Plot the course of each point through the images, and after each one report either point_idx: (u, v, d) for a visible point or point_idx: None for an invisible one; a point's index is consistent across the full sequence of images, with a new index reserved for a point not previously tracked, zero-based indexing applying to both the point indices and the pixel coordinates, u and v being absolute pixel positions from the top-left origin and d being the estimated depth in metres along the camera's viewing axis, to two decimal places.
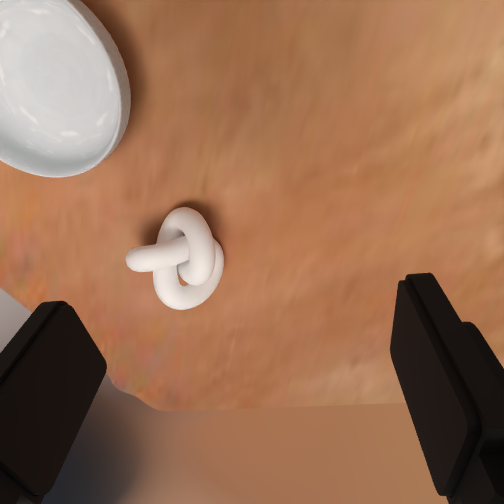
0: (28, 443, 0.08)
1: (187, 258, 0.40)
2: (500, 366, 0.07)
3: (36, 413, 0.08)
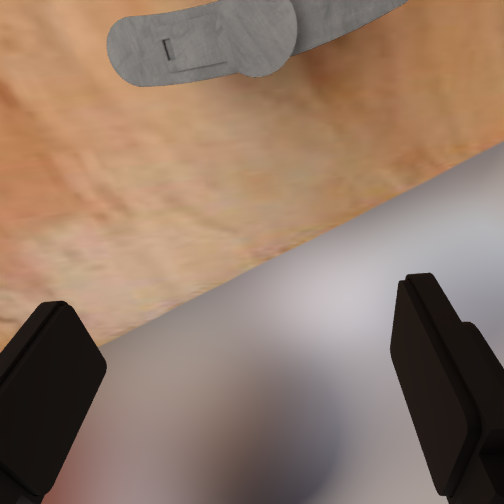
0: (28, 443, 0.08)
1: None
2: (500, 366, 0.07)
3: (36, 413, 0.08)
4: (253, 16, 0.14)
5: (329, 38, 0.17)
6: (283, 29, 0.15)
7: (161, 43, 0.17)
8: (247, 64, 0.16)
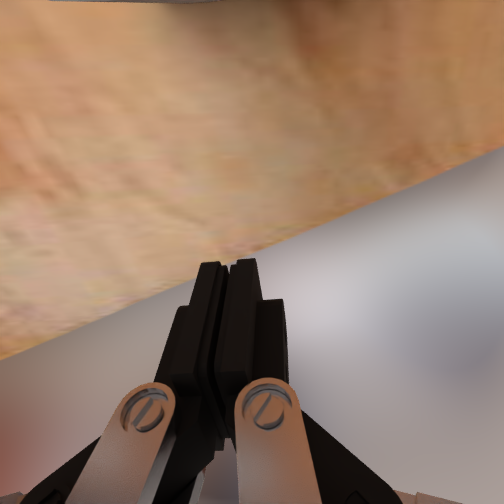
0: None
1: None
2: (281, 331, 0.08)
3: None
4: None
5: None
6: None
7: None
8: None
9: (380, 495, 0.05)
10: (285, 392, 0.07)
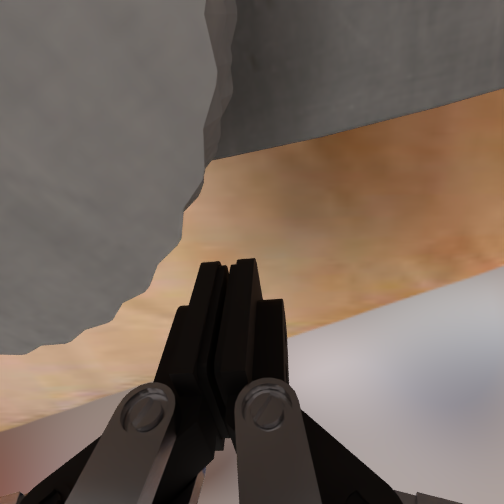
0: None
1: None
2: (281, 331, 0.08)
3: None
4: None
5: (428, 96, 0.03)
6: (4, 7, 0.01)
7: None
8: None
9: (380, 495, 0.05)
10: (285, 392, 0.07)
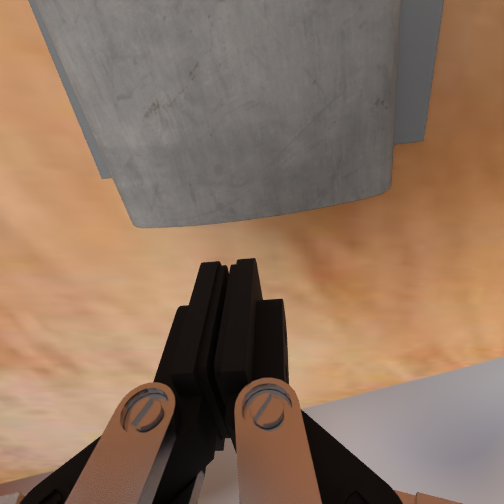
0: None
1: None
2: (280, 331, 0.08)
3: None
4: None
5: None
6: None
7: None
8: None
9: (380, 495, 0.05)
10: (285, 392, 0.07)
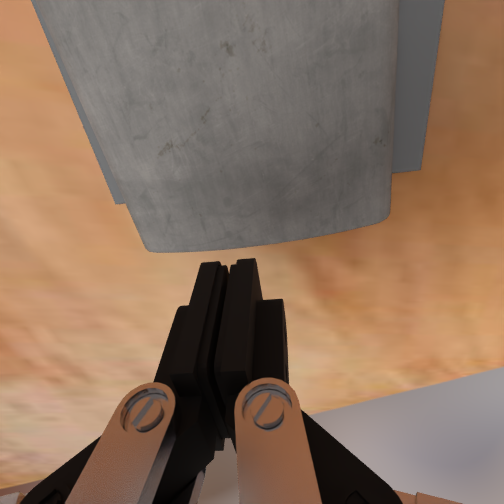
0: None
1: None
2: (281, 331, 0.08)
3: None
4: None
5: None
6: None
7: None
8: None
9: (380, 495, 0.05)
10: (285, 392, 0.07)
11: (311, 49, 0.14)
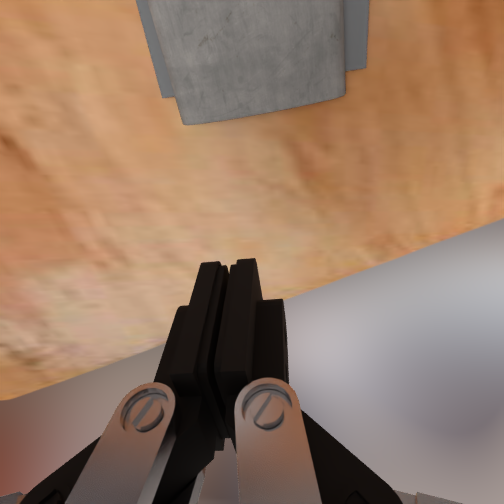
0: None
1: None
2: (281, 331, 0.08)
3: None
4: None
5: None
6: None
7: None
8: None
9: (380, 495, 0.05)
10: (285, 392, 0.07)
11: None
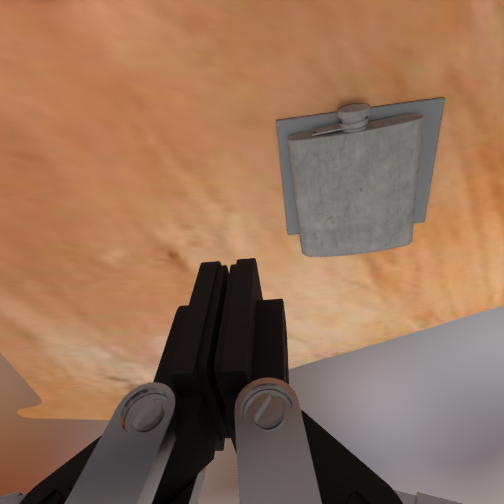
0: None
1: None
2: (281, 331, 0.08)
3: None
4: (353, 105, 0.40)
5: (385, 126, 0.39)
6: (364, 105, 0.39)
7: (312, 131, 0.42)
8: (348, 110, 0.39)
9: (380, 495, 0.05)
10: (285, 392, 0.07)
11: (388, 189, 0.43)
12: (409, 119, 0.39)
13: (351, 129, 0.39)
